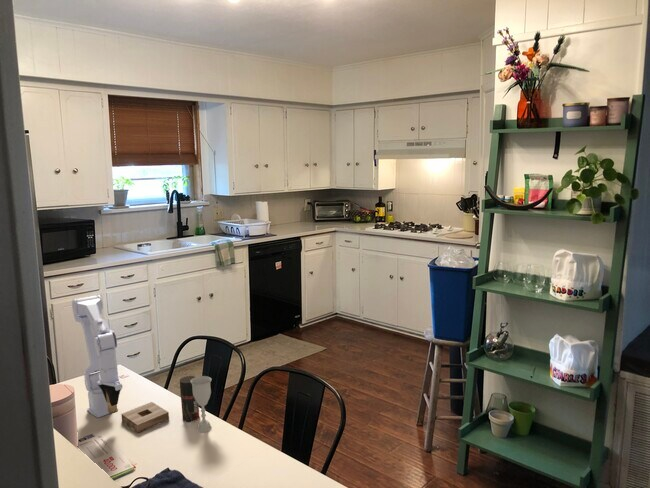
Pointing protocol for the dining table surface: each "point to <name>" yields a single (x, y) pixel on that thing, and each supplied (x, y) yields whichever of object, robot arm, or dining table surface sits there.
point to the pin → (111, 408)
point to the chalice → (202, 398)
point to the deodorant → (188, 400)
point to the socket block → (145, 417)
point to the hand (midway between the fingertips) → (112, 403)
